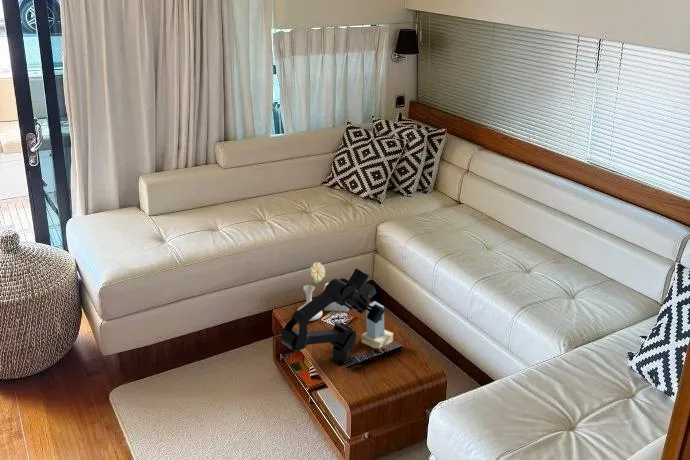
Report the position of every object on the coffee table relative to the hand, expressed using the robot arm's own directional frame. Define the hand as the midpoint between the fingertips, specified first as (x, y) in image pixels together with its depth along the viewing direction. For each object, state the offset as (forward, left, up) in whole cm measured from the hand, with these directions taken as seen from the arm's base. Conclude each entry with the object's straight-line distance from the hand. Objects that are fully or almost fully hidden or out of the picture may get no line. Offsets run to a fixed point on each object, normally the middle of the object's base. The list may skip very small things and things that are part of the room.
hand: (373, 314), depth 265 cm
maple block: (+3, 0, -14) cm, 14 cm away
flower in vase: (-5, +33, -13) cm, 36 cm away
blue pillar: (+2, 0, -9) cm, 10 cm away
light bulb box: (+8, +31, -14) cm, 35 cm away
